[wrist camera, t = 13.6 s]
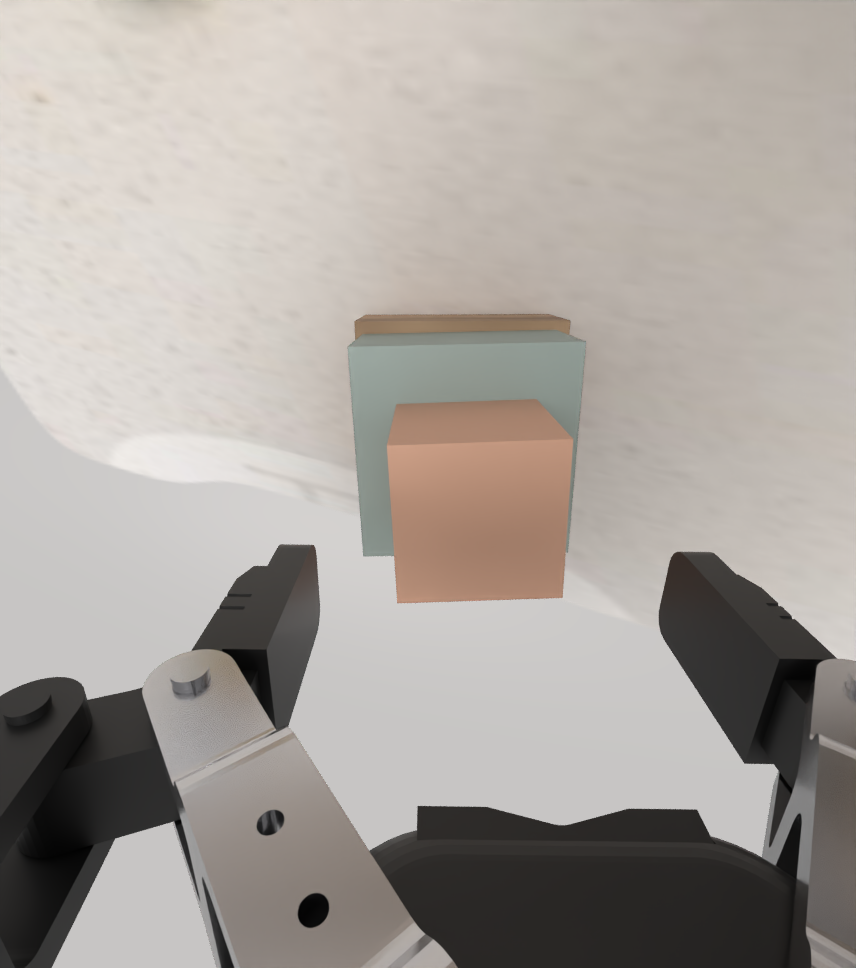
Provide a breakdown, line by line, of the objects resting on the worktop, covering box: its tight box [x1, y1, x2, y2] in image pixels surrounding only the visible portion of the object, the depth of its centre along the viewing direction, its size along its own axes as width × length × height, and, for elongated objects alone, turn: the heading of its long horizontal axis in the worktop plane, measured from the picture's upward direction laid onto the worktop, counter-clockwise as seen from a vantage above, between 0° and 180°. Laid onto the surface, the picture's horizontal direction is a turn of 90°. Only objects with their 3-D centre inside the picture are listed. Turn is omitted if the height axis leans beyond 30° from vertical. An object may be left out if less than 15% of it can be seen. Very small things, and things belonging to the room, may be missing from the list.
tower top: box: [348, 330, 586, 556], centre depth 24 cm, size 9×9×5 cm
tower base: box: [355, 314, 570, 340], centre depth 28 cm, size 10×10×5 cm
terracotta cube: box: [387, 399, 573, 603], centre depth 19 cm, size 6×6×6 cm
